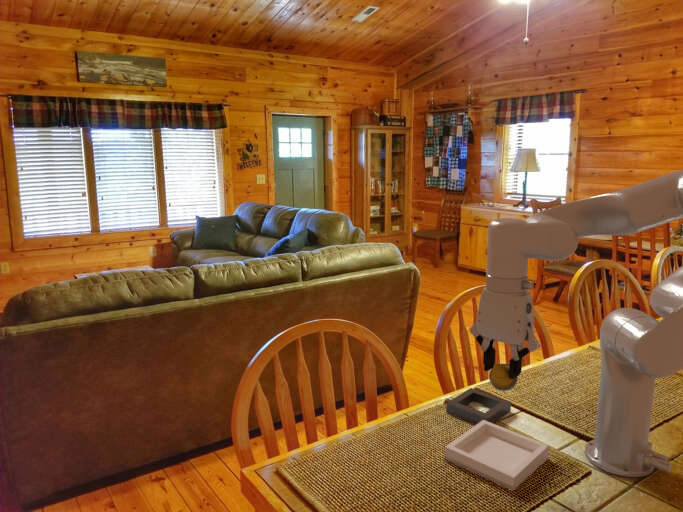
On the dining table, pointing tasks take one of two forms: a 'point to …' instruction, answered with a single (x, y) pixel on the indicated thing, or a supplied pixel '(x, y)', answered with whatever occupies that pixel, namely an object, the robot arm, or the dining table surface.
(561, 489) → the dining table surface
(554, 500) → the dining table surface
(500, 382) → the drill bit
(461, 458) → the tray
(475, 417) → the socket collar
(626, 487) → the dining table surface
